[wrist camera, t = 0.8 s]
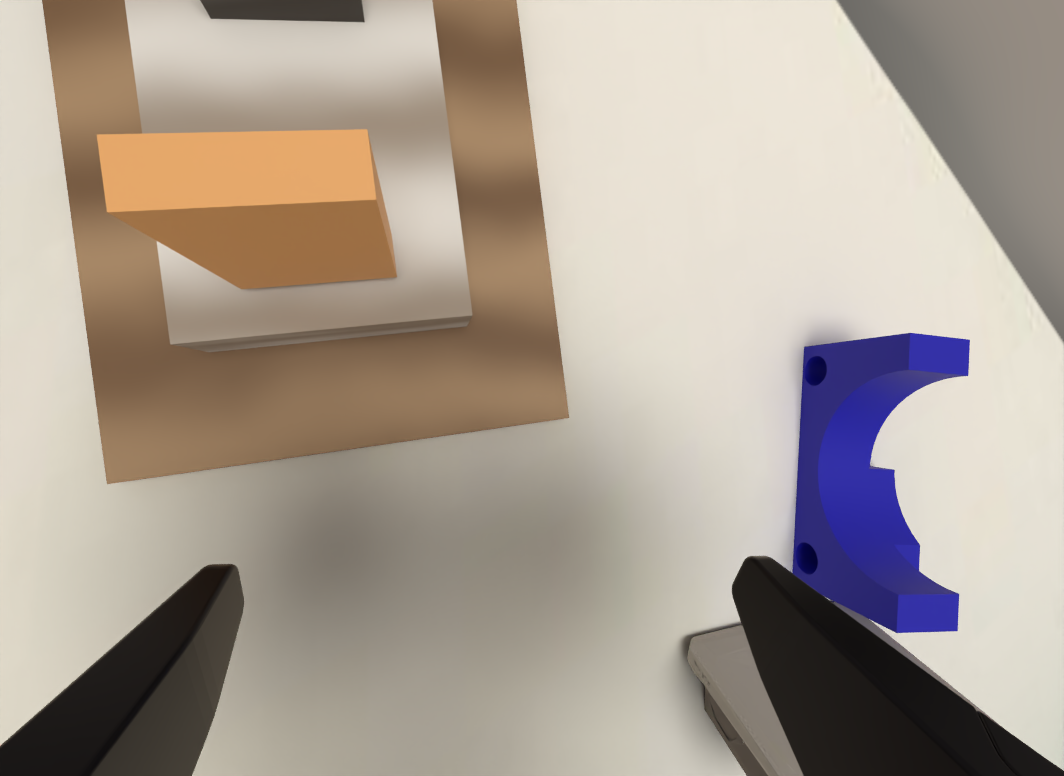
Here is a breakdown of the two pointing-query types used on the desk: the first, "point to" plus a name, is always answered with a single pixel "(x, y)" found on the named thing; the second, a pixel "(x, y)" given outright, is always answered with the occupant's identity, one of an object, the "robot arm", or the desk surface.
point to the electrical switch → (755, 698)
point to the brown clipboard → (324, 308)
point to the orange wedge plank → (255, 202)
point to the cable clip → (865, 480)
